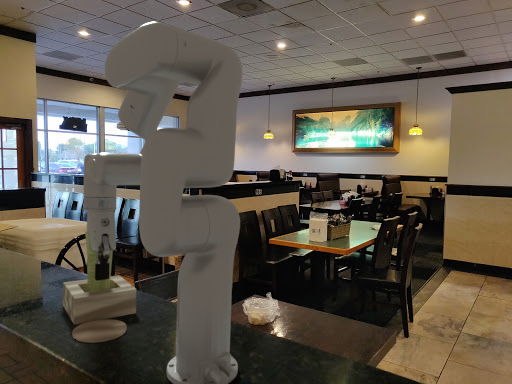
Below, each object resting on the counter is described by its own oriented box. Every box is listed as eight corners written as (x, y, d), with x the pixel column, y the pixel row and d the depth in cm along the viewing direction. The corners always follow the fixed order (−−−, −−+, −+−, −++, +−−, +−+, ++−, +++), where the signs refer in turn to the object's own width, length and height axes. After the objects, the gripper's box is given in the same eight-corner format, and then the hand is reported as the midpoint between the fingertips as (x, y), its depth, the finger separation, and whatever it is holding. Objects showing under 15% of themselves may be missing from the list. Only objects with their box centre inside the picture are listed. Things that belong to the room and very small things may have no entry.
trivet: (133, 335, 83) (133, 332, 83) (78, 347, 77) (78, 344, 77) (118, 318, 92) (118, 315, 92) (67, 327, 86) (67, 325, 86)
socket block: (135, 313, 96) (136, 289, 95) (74, 324, 87) (74, 298, 87) (119, 296, 107) (119, 275, 107) (63, 305, 99) (63, 282, 98)
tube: (107, 303, 101) (108, 229, 100) (114, 309, 97) (115, 232, 96) (84, 308, 98) (85, 231, 96) (90, 314, 94) (91, 234, 92)
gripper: (126, 207, 91) (124, 283, 92) (106, 200, 105) (105, 267, 106) (92, 208, 87) (91, 288, 88) (76, 201, 100) (75, 270, 101)
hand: (99, 275), depth 97 cm, fingers closed on tube, 4 cm apart
